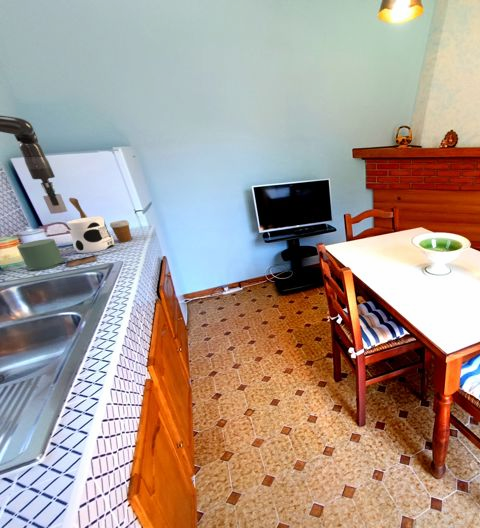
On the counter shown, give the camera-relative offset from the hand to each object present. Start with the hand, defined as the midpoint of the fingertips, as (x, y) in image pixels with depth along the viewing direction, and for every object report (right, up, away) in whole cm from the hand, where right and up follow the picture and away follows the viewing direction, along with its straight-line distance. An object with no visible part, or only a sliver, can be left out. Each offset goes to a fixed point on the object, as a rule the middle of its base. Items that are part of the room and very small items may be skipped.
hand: (55, 204), depth 141 cm
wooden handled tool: (-19, -15, +43) cm, 50 cm away
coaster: (+2, -27, +11) cm, 29 cm away
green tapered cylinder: (-12, -29, +8) cm, 33 cm away
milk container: (-3, -21, +27) cm, 34 cm away
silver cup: (0, -3, +1) cm, 4 cm away
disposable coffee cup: (0, -14, +43) cm, 46 cm away
